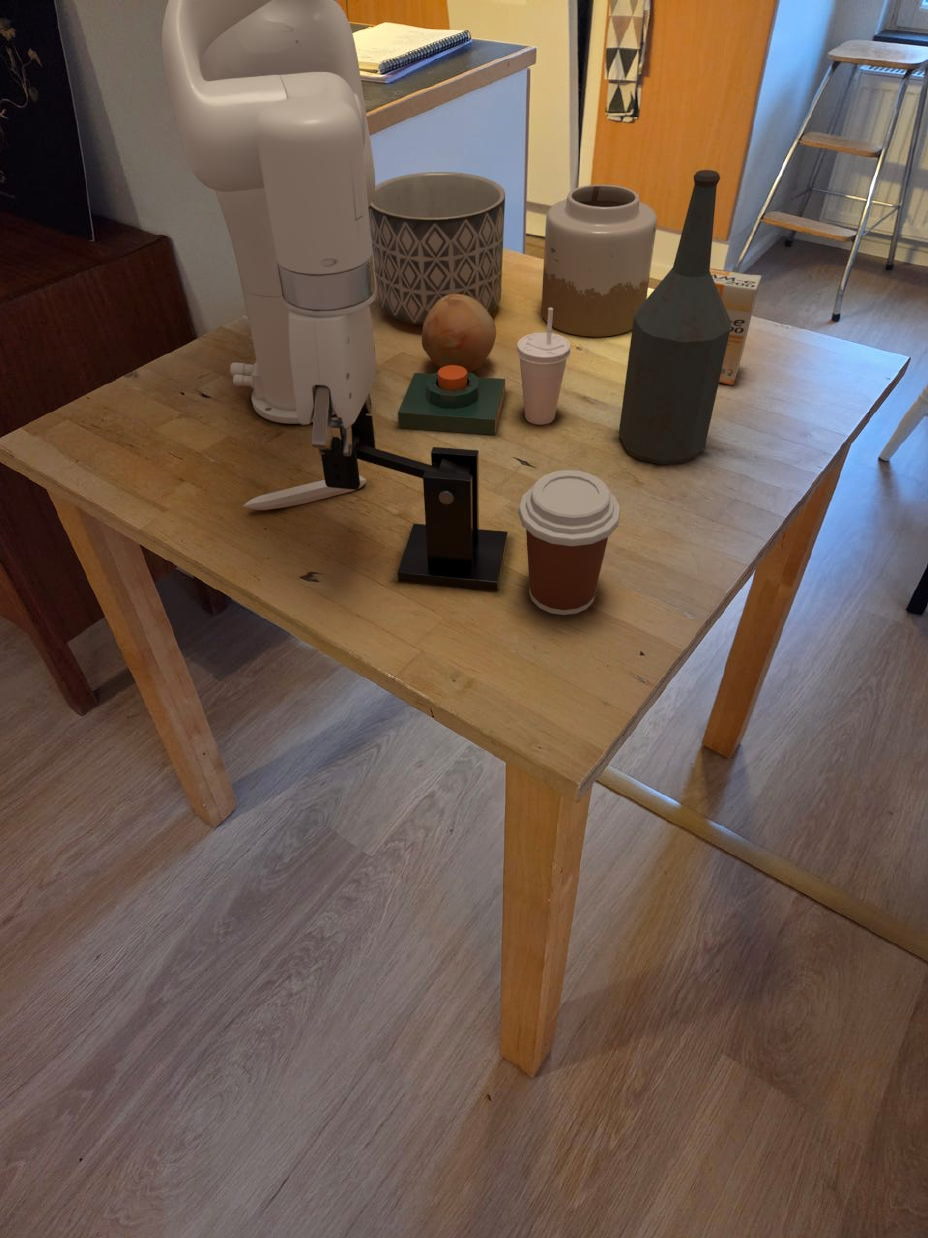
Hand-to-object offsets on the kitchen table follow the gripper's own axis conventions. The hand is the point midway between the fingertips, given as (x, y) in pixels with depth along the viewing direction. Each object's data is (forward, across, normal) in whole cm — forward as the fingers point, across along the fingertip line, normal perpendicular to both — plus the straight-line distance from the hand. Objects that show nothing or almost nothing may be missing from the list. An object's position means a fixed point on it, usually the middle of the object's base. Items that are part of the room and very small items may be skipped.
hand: (351, 467), depth 80 cm
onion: (+11, -40, +3) cm, 42 cm away
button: (+7, -29, +4) cm, 30 cm away
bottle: (+11, -25, +30) cm, 41 cm away
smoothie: (+11, -29, +16) cm, 35 cm away
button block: (+11, -29, +4) cm, 31 cm away
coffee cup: (+11, +3, +21) cm, 24 cm away
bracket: (+10, 0, +10) cm, 14 cm away
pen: (+11, -8, -8) cm, 16 cm away
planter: (+11, -58, -3) cm, 59 cm away
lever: (0, 0, +5) cm, 5 cm away
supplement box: (+11, -43, +36) cm, 58 cm away
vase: (+11, -59, +20) cm, 63 cm away
